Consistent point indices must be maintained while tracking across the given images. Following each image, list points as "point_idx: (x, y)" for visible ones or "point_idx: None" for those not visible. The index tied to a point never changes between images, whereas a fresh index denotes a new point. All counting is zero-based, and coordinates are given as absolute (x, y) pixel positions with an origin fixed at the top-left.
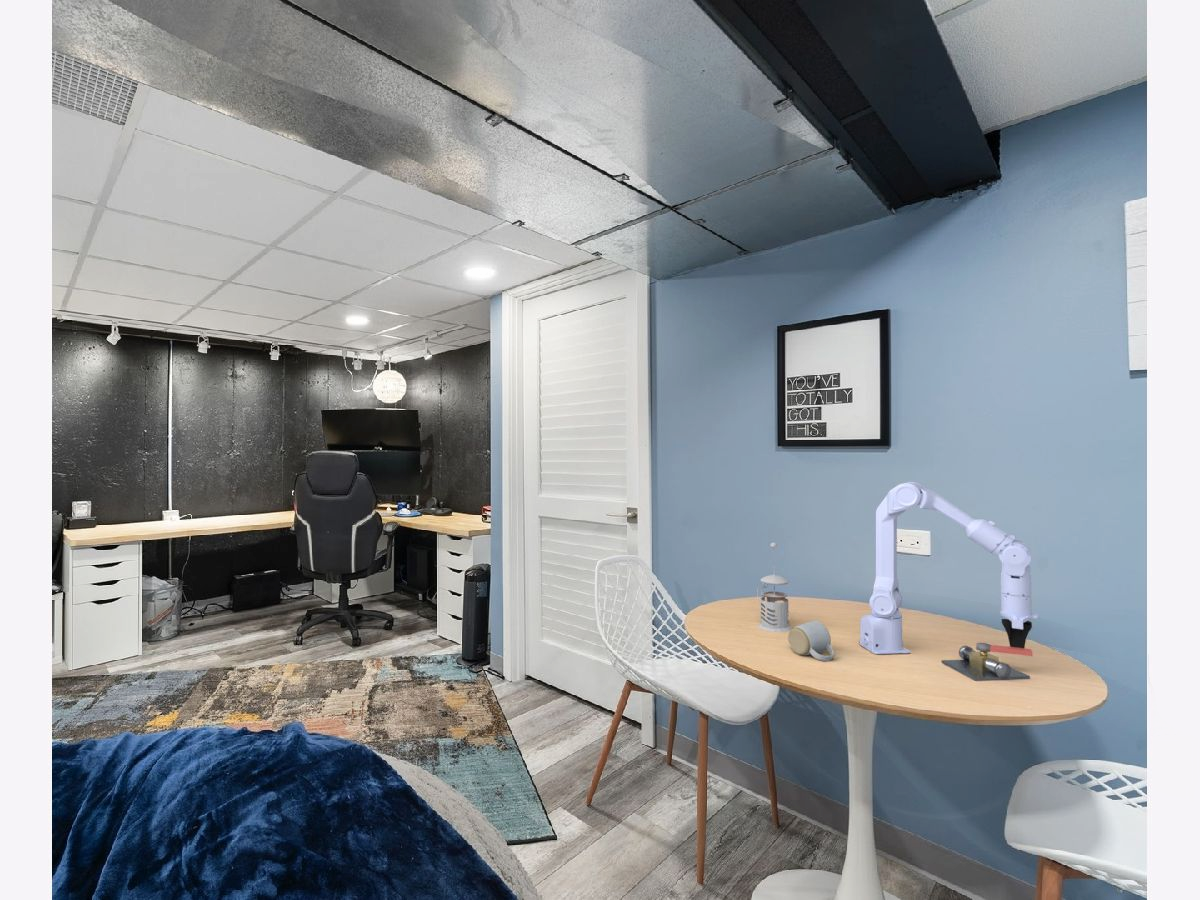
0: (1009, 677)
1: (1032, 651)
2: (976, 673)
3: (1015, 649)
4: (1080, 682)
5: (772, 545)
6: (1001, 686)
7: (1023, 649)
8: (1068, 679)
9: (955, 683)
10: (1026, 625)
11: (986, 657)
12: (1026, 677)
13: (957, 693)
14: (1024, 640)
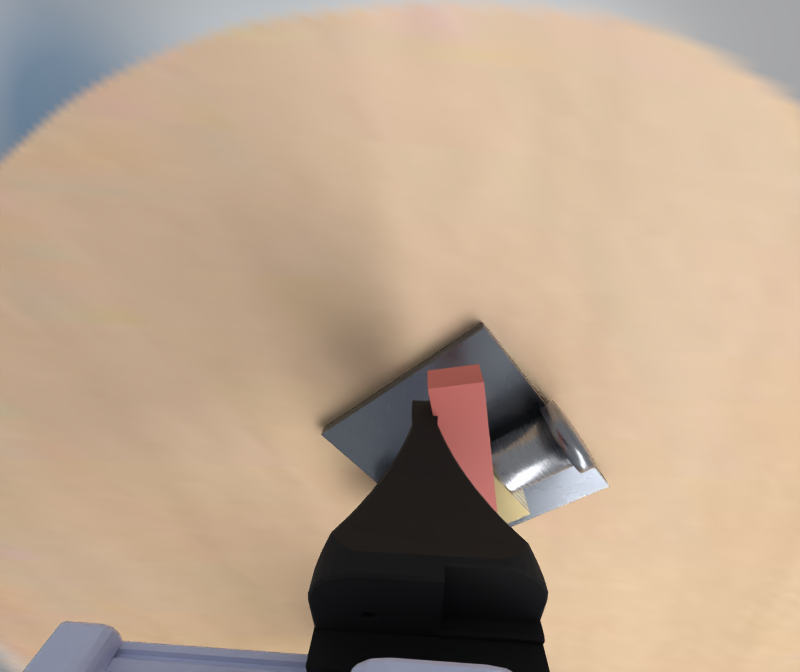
0: (536, 393)
1: (483, 382)
2: (551, 481)
3: (488, 454)
4: (405, 96)
5: None
6: (634, 414)
7: (465, 421)
8: (389, 157)
9: (654, 518)
10: (516, 602)
11: (509, 502)
12: (491, 336)
13: (756, 516)
14: (451, 459)
